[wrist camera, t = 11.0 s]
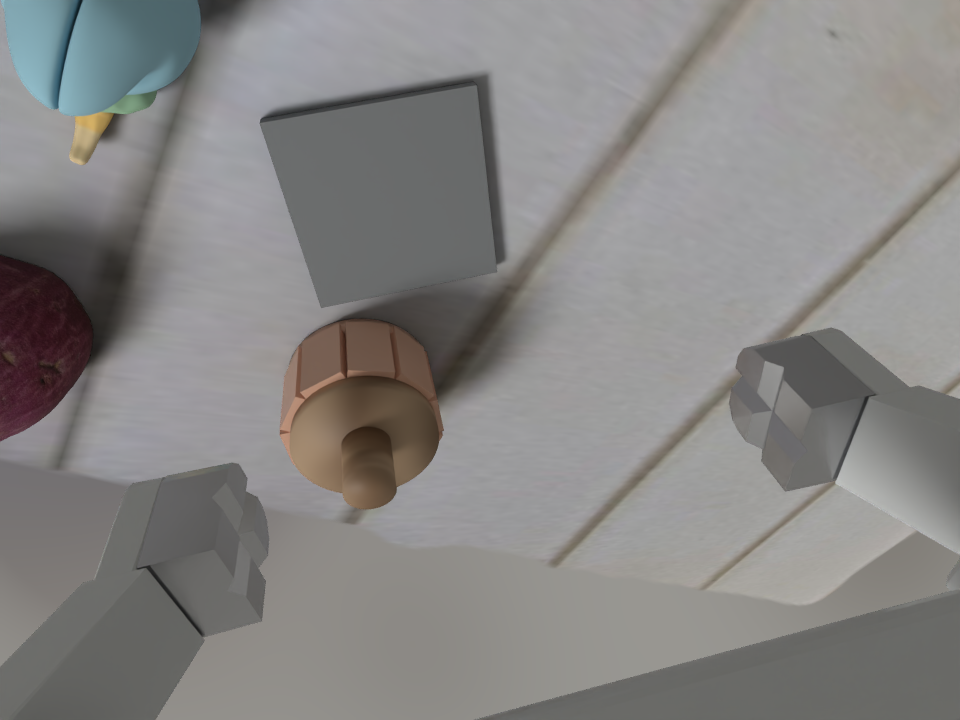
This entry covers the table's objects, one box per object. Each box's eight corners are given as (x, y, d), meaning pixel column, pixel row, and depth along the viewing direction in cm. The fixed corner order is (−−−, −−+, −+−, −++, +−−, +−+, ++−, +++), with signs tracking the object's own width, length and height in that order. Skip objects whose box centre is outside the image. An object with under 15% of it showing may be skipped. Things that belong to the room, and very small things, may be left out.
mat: (473, 81, 34) (476, 85, 33) (494, 266, 42) (497, 271, 41) (260, 118, 33) (259, 123, 32) (321, 301, 40) (321, 307, 40)
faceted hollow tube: (416, 302, 42) (427, 353, 37) (439, 413, 49) (452, 468, 44) (266, 333, 41) (259, 389, 36) (311, 442, 48) (310, 501, 43)
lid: (423, 361, 38) (435, 416, 34) (446, 463, 44) (458, 521, 40) (269, 394, 37) (262, 455, 33) (314, 494, 43) (313, 556, 39)
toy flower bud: (-76, 188, 25) (-47, -134, 19) (14, 113, 31) (56, -144, 25) (118, 256, 28) (195, 1, 22) (162, 175, 34) (230, -39, 28)
